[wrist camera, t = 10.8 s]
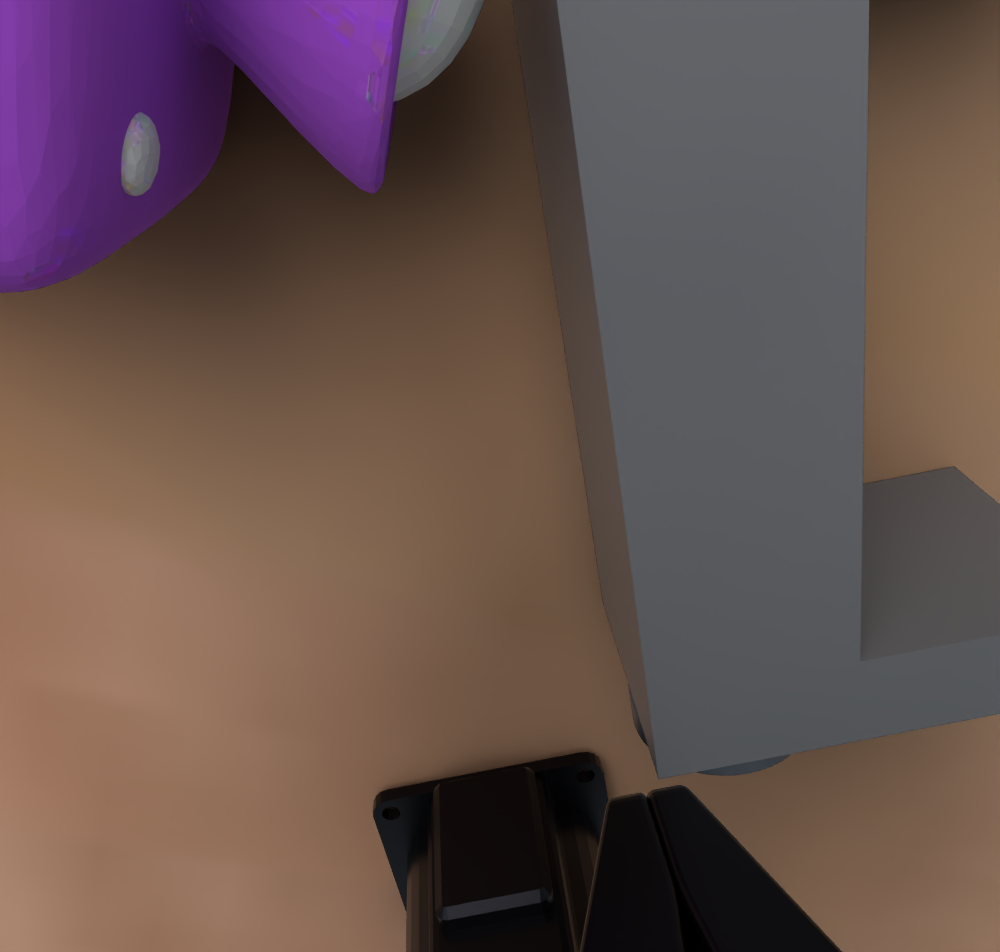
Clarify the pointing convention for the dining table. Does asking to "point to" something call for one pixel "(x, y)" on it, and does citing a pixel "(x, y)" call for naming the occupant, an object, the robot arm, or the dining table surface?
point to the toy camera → (186, 105)
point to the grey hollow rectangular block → (743, 385)
